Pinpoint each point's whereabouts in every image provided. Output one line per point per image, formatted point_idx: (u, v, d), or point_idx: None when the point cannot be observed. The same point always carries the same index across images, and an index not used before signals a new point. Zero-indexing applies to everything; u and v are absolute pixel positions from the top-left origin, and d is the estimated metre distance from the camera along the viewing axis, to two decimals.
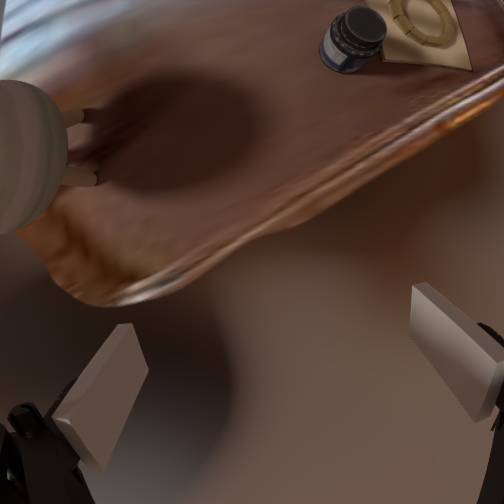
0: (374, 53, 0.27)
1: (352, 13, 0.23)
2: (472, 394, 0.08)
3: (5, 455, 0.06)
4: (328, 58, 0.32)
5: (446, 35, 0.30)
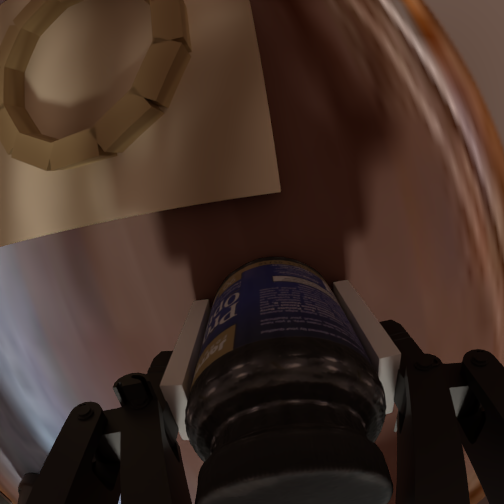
0: (378, 387, 0.07)
1: None
2: None
3: (95, 439, 0.07)
4: None
5: None
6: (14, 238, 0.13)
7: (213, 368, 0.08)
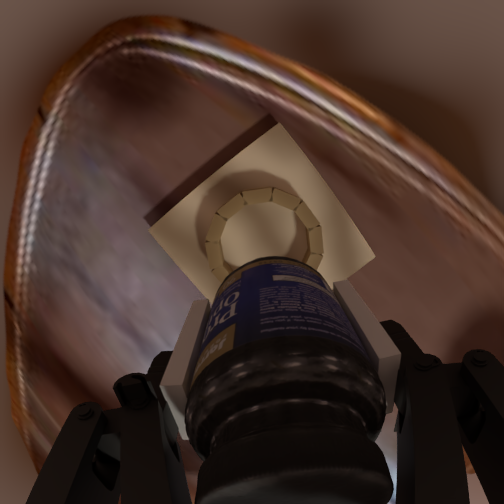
0: (379, 386, 0.07)
1: None
2: None
3: (95, 439, 0.07)
4: None
5: (276, 198, 0.27)
6: None
7: (213, 367, 0.08)
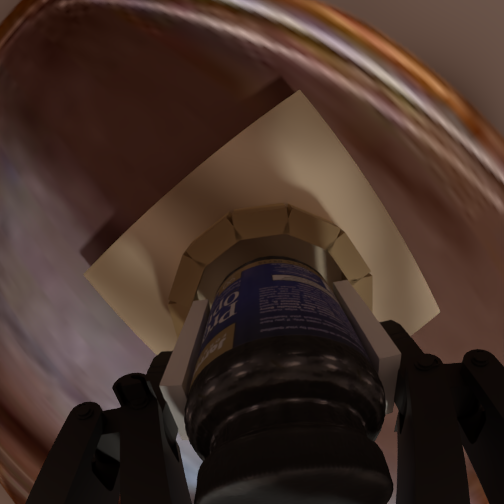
0: (378, 385, 0.07)
1: None
2: None
3: (95, 439, 0.07)
4: None
5: (296, 228, 0.14)
6: None
7: (212, 367, 0.08)
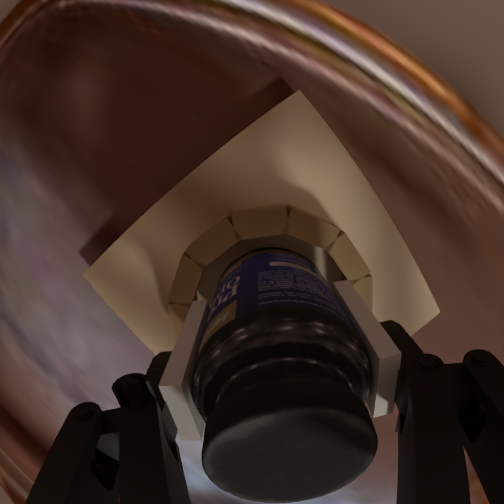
0: (362, 352, 0.09)
1: (253, 492, 0.07)
2: None
3: (94, 439, 0.07)
4: None
5: (296, 228, 0.14)
6: None
7: (218, 334, 0.09)
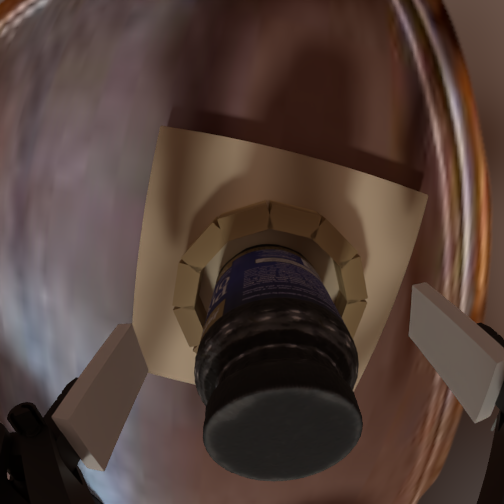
0: (343, 332, 0.10)
1: (257, 472, 0.08)
2: (472, 394, 0.08)
3: (5, 455, 0.06)
4: None
5: (348, 270, 0.16)
6: (153, 371, 0.20)
7: (209, 332, 0.10)
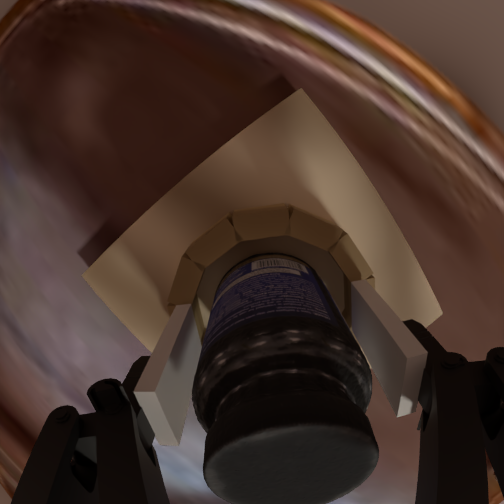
0: (280, 333, 0.08)
1: (313, 500, 0.07)
2: (393, 388, 0.09)
3: (73, 441, 0.07)
4: None
5: (298, 229, 0.14)
6: None
7: None
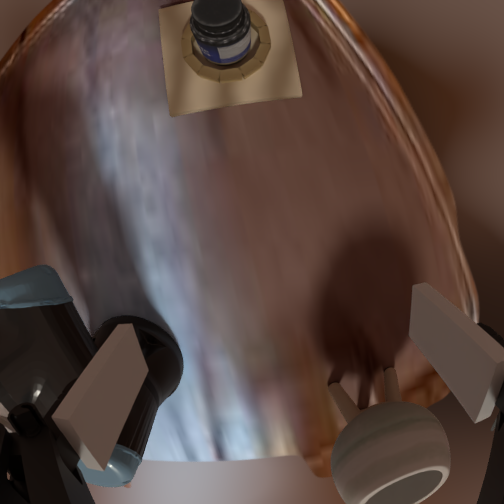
0: None
1: (214, 21, 0.22)
2: (472, 394, 0.08)
3: (5, 455, 0.06)
4: (248, 44, 0.30)
5: (251, 17, 0.29)
6: (183, 111, 0.34)
7: None
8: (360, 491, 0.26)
